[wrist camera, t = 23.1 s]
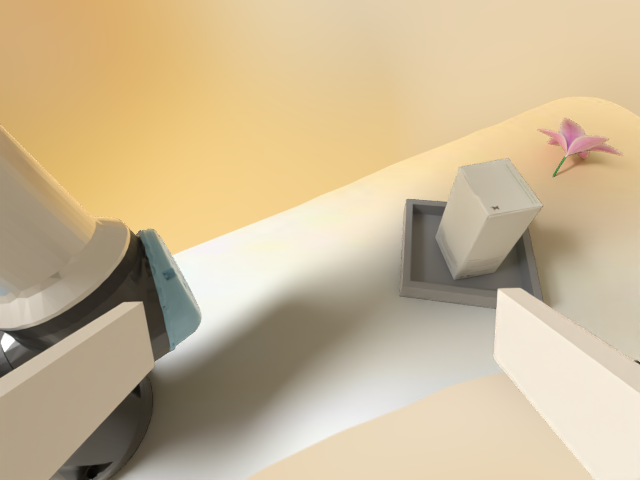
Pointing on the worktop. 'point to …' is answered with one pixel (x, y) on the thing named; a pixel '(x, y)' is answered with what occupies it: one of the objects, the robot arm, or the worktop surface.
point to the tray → (434, 275)
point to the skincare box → (484, 217)
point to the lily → (577, 141)
